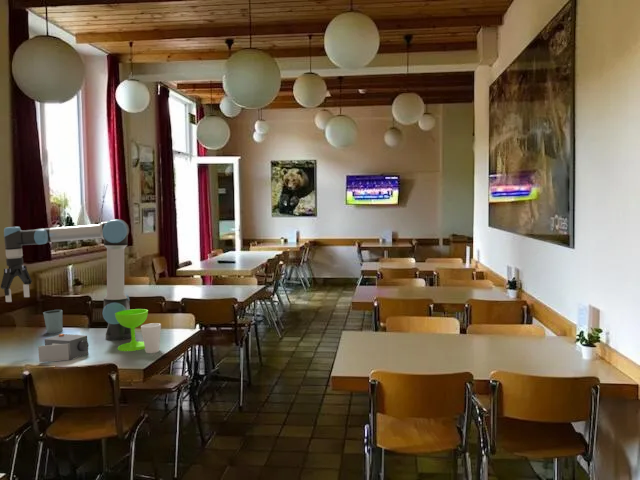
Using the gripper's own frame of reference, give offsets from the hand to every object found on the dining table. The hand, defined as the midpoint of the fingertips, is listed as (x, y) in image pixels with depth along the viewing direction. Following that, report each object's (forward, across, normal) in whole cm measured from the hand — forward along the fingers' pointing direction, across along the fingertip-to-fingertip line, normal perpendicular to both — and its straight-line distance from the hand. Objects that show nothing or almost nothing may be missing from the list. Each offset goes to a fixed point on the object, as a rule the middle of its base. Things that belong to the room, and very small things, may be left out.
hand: (18, 299), depth 294 cm
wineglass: (+27, -8, +56) cm, 63 cm away
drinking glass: (+27, -44, -12) cm, 53 cm away
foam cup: (+27, 0, +70) cm, 75 cm away
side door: (+26, +18, +30) cm, 44 cm away
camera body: (+27, +8, +31) cm, 42 cm away
